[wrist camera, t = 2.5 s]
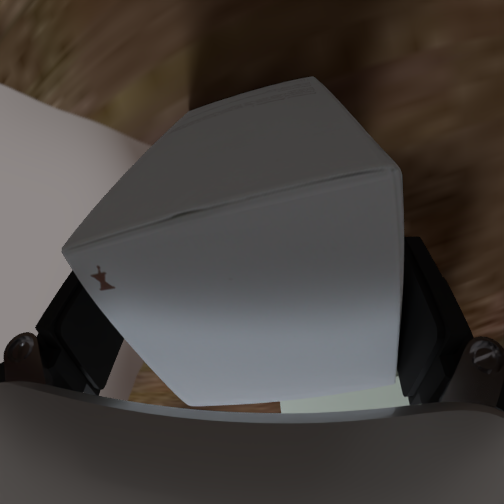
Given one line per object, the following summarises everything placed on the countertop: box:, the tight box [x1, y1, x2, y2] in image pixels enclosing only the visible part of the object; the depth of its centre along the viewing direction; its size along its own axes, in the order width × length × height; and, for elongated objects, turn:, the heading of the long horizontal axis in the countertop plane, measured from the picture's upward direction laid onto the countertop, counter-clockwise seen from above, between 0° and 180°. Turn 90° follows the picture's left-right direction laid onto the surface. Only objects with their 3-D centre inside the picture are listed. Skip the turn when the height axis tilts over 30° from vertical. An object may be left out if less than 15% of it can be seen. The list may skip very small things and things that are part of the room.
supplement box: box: [62, 76, 404, 406], centre depth 12 cm, size 7×7×13 cm
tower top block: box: [280, 370, 410, 413], centre depth 20 cm, size 11×11×4 cm
